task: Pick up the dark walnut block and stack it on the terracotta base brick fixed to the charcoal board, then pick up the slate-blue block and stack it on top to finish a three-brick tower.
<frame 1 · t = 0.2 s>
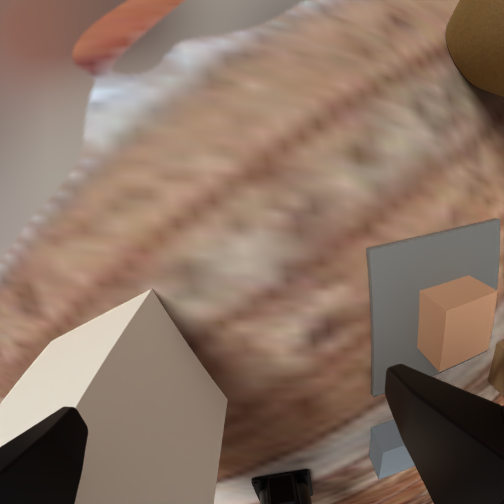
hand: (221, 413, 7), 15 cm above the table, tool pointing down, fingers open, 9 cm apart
milk: (134, 372, 24), on the table, touching gripper
slate block: (392, 433, 27), on the table
plant pot: (475, 56, 18), on the table
tower base: (440, 309, 23), on the table
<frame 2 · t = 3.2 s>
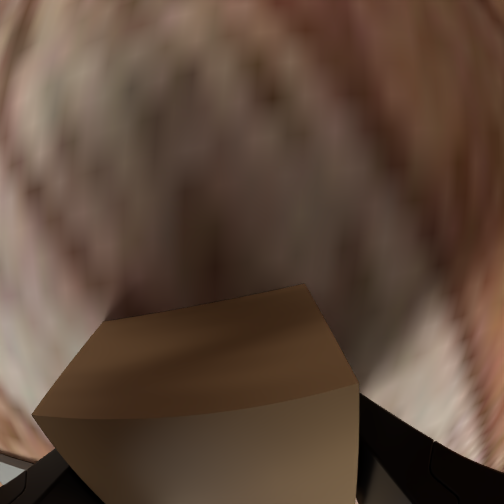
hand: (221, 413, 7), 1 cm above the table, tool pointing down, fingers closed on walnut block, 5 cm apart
walnut block: (223, 388, 8), on the table, touching gripper
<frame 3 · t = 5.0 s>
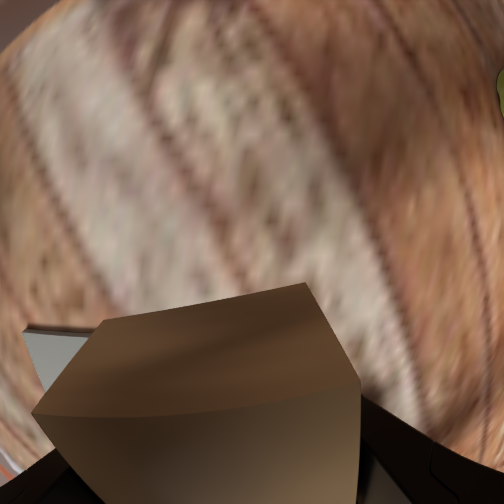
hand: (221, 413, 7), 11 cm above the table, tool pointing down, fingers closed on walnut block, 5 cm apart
walnut block: (223, 387, 8), point 10 cm above the table, touching gripper
tower base: (124, 410, 20), on the table
when the fingers open (7 cm above the table, at t = 7.0 s): walnut block stays where it is, resting on tower base.
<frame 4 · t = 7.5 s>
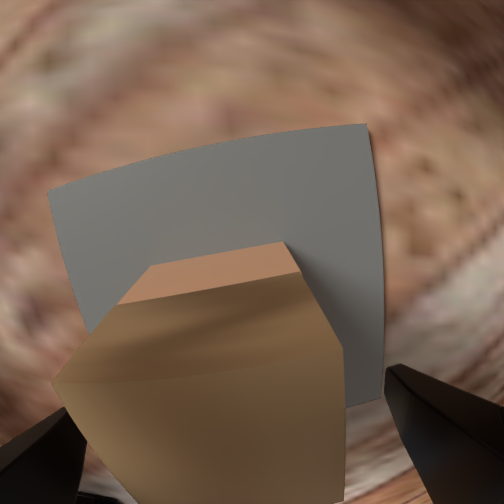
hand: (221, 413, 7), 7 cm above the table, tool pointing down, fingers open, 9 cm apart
walnut block: (223, 369, 9), point 5 cm above the table, touching tower base
tower base: (229, 309, 14), on the table
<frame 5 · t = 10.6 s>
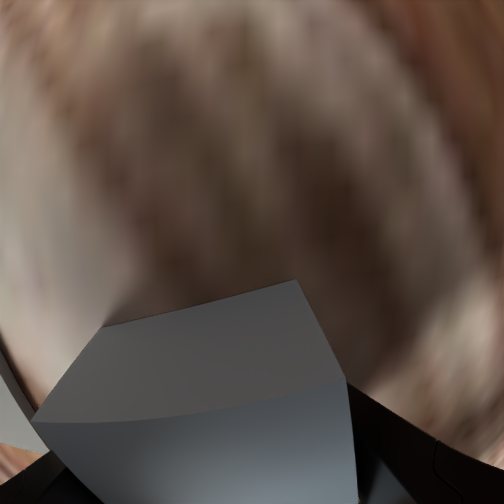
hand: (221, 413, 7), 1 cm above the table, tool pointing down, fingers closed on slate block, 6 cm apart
slate block: (222, 389, 8), on the table, touching gripper
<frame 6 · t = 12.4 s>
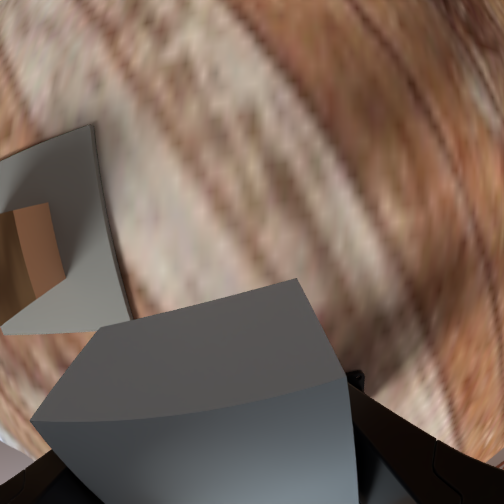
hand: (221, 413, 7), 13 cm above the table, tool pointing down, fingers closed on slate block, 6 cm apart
slate block: (222, 388, 8), point 12 cm above the table, touching gripper
tower base: (34, 245, 19), on the table
when the fingers open (11 cm above the table, at t = 14.2 s): slate block stays where it is, resting on walnut block.
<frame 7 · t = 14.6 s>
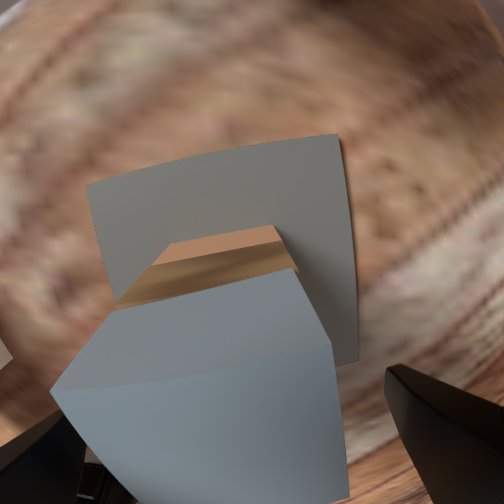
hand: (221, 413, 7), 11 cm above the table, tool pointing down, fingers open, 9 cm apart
slate block: (223, 370, 9), point 9 cm above the table, touching walnut block
walnut block: (227, 314, 13), point 5 cm above the table, touching slate block, tower base
tower base: (231, 279, 18), on the table
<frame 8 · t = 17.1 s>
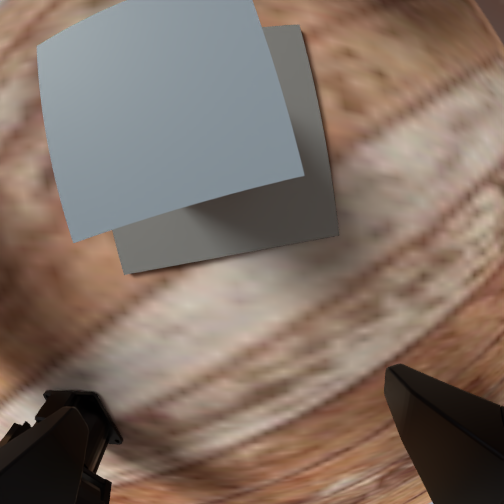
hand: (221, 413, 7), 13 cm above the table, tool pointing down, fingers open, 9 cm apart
slate block: (180, 118, 10), point 9 cm above the table, touching walnut block
tower base: (207, 142, 18), on the table
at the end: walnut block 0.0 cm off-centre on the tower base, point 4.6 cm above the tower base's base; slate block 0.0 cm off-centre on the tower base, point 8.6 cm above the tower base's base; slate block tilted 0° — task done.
